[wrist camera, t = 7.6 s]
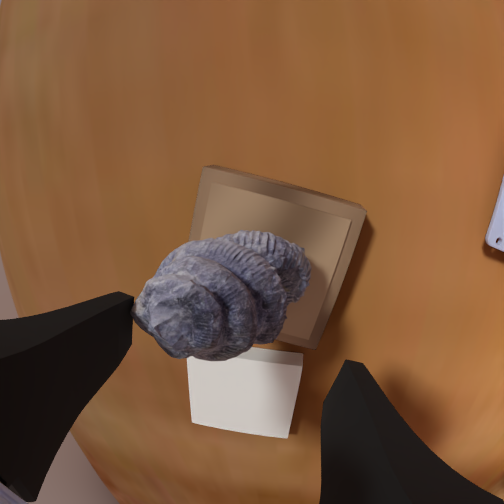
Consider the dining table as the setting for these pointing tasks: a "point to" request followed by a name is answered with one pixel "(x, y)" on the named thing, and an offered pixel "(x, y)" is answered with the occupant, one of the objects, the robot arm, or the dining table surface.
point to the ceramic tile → (246, 391)
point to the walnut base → (285, 235)
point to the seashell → (222, 294)
